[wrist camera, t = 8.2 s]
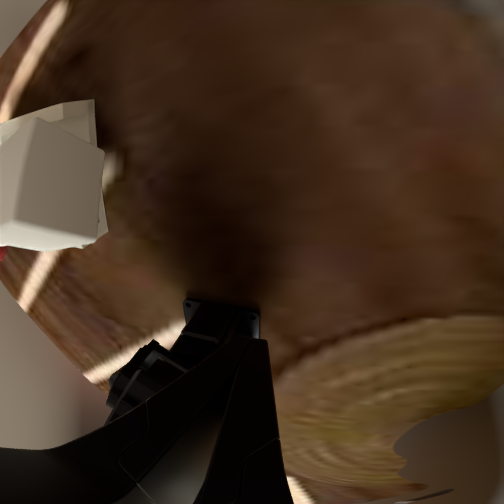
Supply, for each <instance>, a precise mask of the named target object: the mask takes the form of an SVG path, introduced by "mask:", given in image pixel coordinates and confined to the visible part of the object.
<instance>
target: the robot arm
mask: <svg viewBox="0 0 504 504" xmlns="http://www.w3.org/2000/svg"><path fill="white" fill-rule="evenodd" d="M188 303H190V304H191V305H190V304H188ZM183 308H184V315H185V321H186V325H185V327H184V328H183V330H182V332H181V334H180V336H179V337H178V339H177V340H176V342H175V343H174V345H173V346H172V348H171V349H170V351H169V350H167V349H166V348H164V347H163V346H161V345H159V342H157V341H155V340H154V339H153V340H152V341H151V342H150V343H149V344H148V345H144V347H143V348H140V349H139V350H138V351H137V352H136V354H135V355H134V356H133V358H132V359H131V360H130V361H129V362H128V363H127V364H126V365H124V366H123V367H122V368H120V369H119V370H118V371H116V372H115V373H113V374H112V375H111V377H110V378H109V381H108V382H109V386H110V392H109V395H108V399H107V401H106V407H108V408H109V409H111V410H112V412H111V414H110V415H109V417H108V419H107V421H106V423H105V424H104V426H102V427H100V428H99V429H96V430H94V431H92V432H90V433H88V434H86V435H84V436H81V437H79V438H77V439H75V440H73V441H71V442H68V443H66V444H64V445H61V446H58V447H55V448H51V449H44V450H30V449H29V450H27V449H13V448H1V447H0V504H294V502H293V499H292V496H291V492H290V489H289V485H288V481H287V477H286V474H285V469H284V463H283V457H282V451H281V443H280V440H279V439H280V436H279V428H278V420H277V412H276V404H275V396H274V388H273V380H272V373H271V365H270V357H269V349H268V342H267V340H264V339H260V313H259V312H258V311H257V310H255V309H249V308H243V307H237V306H232V305H226V304H221V303H215V302H210V301H205V300H199V299H194V298H186V299H185V300H184V302H183ZM252 315H254V316H256V317H253V316H252Z"/></svg>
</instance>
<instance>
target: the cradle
mask: <svg viewBox="0 0 504 504" xmlns="http://www.w3.org/2000/svg"><path fill="white" fill-rule="evenodd" d="M34 117H39V118H41V119H43V120H45V121H47V122H49V123H51V124H53V125H55V126H57V127H59V128H61V129H63V130H65V131H67V132H69V133H71V134H73V135H75V136H77V137H79V138H80V139H82V140H84V141H86V142H88V143H90V144H92V145H94V146H96V147H97V139H96V125H95V105H94V99H91V100H82V101H73V102H66V103H61V104H57V105H54V106H50V107H47V108H44V109H41V110H38V111H35V112H32V113H29V114H26V115H23V116H20V117H17V118H14V119H12V120H9V121H6V122H4V123H1V124H0V146H1V145H2V144H3V143H4V142H5V141H6V140H8V139H9V138H10V137H11V136H12V135H13V134H14V133H15V132H17V131H18V130H19V129H20V128H21V127H22V126H24V125H25V124H26V123H27V122H28V121H30V120H31V119H32V118H34ZM107 232H108V226H107V220H106V214H105V208H104V201H103V194H102V187H101V192H100V202H99V215H98V230H97V239H98V238H99V237H101V236H102V235H104V234H105V233H107ZM87 245H89V244H85V245H79V246H74V247H76V248H82V249H83V248H84V247H86V246H87Z"/></svg>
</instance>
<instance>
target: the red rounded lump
mask: <svg viewBox="0 0 504 504" xmlns="http://www.w3.org/2000/svg"><path fill="white" fill-rule="evenodd" d="M7 247H8V245H7V246H0V262H1V261H2V259H3V257H4V256H5V253H6V251H7Z"/></svg>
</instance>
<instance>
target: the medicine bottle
mask: <svg viewBox="0 0 504 504" xmlns="http://www.w3.org/2000/svg"><path fill="white" fill-rule="evenodd" d="M104 158H105V152H104V151H103V150H102V149H100V148H98V147H96V146H94V145H92V144H90V143H88V142H86V141H84V140H82V139H80V138H79V137H77V136H75V135H73V134H71V133H69V132H67V131H65V130H63V129H61V128H59V127H57V126H55V125H53V124H51V123H49V122H47V121H45V120H43V119H41V118H39V117H34V118H32V119H31V120H30V121H28V122H27V123H26V124H25V125H24V126H22V127H21V128H20V129H19V130H18V131H17V132H15V133H14V134H13V135H12V136H11V137H10V138H9V139H8V140H6V141H5V142H4V143H3V144H2V145H1V146H0V246H7V245H9V246H15V247H20V248H26V249H31V250H37V251H43V252H49V251H54V250H59V249H64V248H69V247H74V246H79V245H85V244H90V243H94V242H95V241H96V240H97V230H98V215H99V202H100V192H101V182H102V174H103V166H104Z"/></svg>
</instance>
